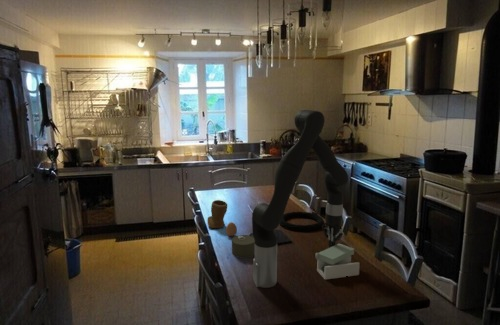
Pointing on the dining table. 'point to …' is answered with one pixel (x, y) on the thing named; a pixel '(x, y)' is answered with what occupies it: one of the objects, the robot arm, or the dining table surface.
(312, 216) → the cable lock
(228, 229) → the egg
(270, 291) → the dining table surface
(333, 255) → the cover
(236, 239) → the can
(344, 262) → the curved white channel
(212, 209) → the brown boot
